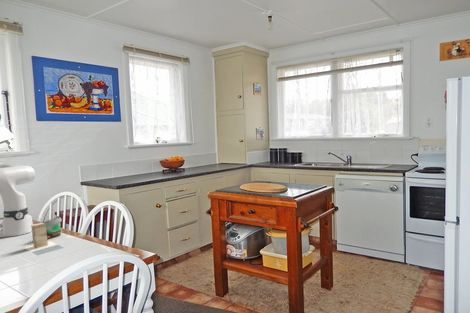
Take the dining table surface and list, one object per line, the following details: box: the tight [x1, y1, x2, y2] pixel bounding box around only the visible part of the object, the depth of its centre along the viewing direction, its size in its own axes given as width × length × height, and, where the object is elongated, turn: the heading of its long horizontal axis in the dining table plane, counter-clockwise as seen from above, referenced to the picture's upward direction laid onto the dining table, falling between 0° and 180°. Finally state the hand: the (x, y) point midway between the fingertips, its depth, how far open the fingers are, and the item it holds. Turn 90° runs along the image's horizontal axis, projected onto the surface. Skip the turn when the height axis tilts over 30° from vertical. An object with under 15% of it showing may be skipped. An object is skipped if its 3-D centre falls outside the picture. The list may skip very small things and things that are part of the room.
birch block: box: [31, 222, 48, 248], centre depth 171 cm, size 5×5×11 cm
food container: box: [40, 215, 63, 240], centre depth 187 cm, size 12×6×10 cm, turn 168°
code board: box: [24, 240, 65, 256], centre depth 169 cm, size 19×12×1 cm, turn 48°
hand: (5, 150), depth 174 cm, fingers open, 8 cm apart
